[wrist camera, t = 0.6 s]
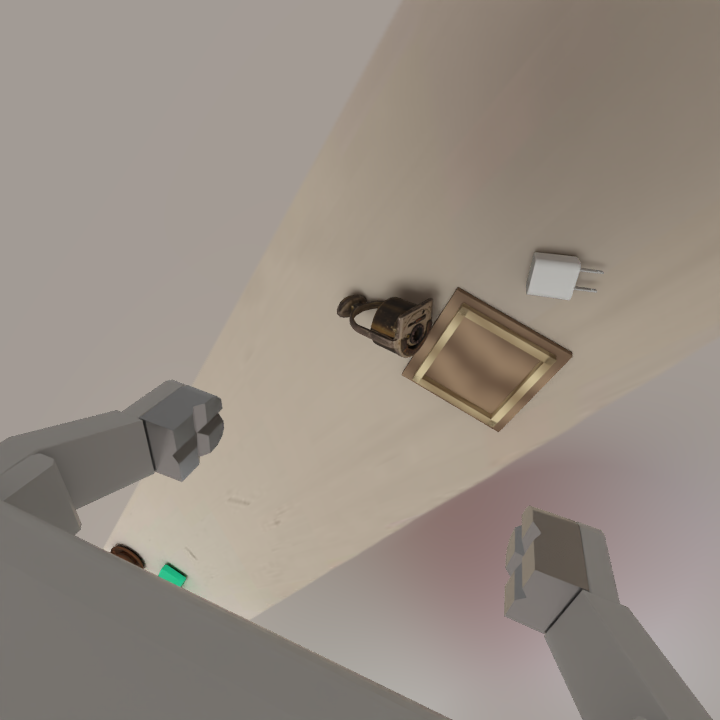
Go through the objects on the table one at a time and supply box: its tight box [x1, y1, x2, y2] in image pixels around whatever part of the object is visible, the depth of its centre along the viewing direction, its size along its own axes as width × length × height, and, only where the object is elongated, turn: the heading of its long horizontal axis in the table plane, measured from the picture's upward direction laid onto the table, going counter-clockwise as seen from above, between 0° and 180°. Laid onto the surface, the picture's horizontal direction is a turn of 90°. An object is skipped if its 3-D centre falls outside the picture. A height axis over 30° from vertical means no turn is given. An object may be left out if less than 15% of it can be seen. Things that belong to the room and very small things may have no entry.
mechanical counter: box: [337, 295, 433, 358], centre depth 49 cm, size 7×13×10 cm, turn 104°
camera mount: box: [158, 565, 186, 587], centre depth 118 cm, size 12×8×10 cm, turn 151°
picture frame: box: [402, 288, 572, 432], centre depth 52 cm, size 15×16×2 cm
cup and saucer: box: [109, 546, 143, 569], centre depth 124 cm, size 12×12×6 cm
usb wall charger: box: [526, 252, 604, 300], centre depth 42 cm, size 4×7×4 cm, turn 88°
